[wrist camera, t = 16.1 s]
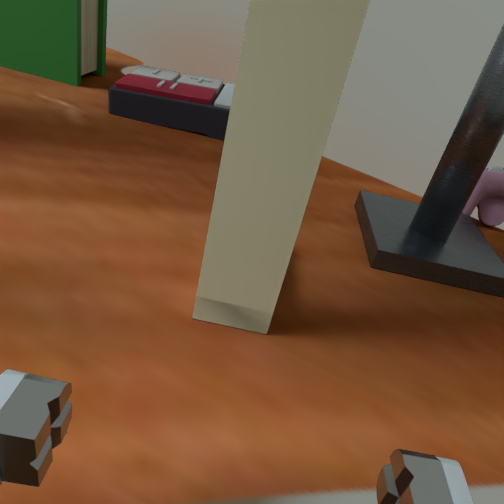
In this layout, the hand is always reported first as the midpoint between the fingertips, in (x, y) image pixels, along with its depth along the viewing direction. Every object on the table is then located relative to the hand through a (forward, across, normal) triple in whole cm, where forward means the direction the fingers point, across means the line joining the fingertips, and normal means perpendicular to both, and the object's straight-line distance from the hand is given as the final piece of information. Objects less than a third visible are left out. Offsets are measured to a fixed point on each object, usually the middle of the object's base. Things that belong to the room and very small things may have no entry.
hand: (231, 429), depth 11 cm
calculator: (+44, +9, +7) cm, 45 cm away
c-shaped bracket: (+15, 0, +6) cm, 16 cm away
